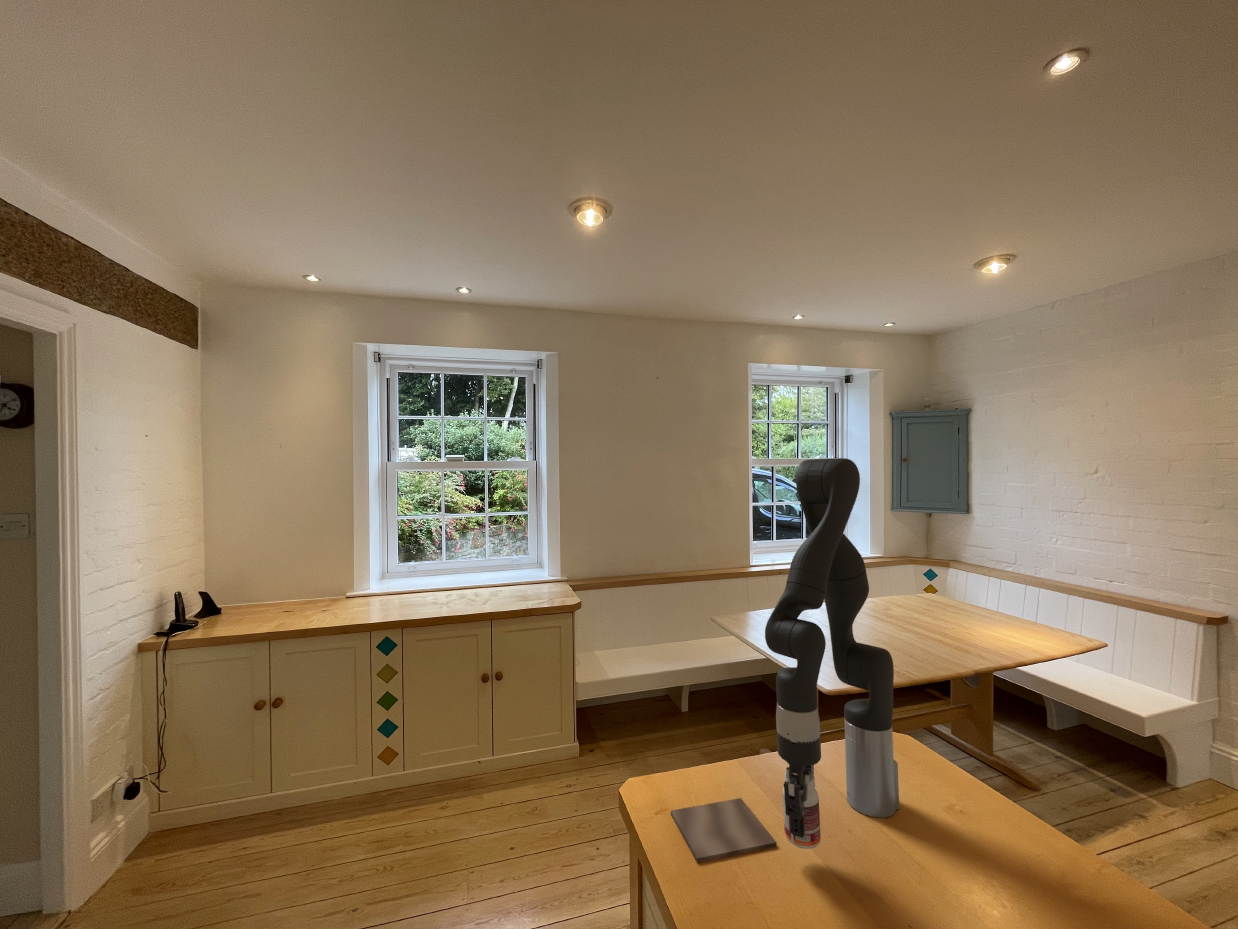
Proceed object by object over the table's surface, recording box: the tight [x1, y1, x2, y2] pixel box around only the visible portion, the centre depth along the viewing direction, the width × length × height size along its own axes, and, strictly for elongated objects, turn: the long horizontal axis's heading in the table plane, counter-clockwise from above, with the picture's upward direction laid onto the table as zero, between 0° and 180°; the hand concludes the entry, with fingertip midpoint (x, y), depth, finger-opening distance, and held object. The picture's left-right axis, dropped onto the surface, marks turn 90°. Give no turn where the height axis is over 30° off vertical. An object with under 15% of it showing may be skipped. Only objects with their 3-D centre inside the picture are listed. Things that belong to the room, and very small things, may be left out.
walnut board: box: [670, 797, 778, 864], centre depth 100 cm, size 16×14×1 cm
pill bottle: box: [782, 770, 822, 850], centre depth 91 cm, size 6×6×11 cm
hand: (801, 823), depth 91 cm, fingers closed on pill bottle, 6 cm apart
